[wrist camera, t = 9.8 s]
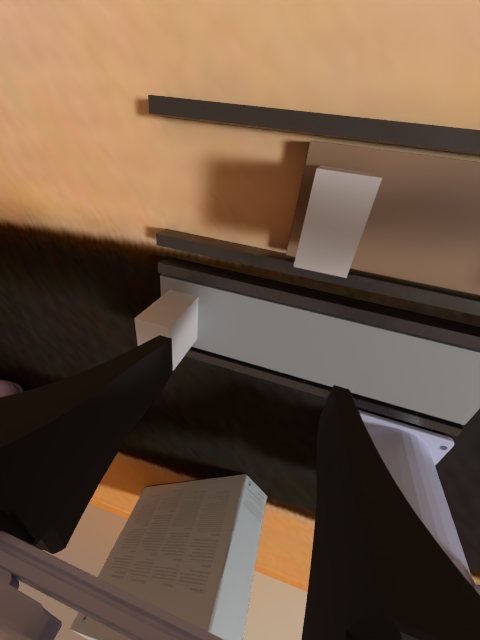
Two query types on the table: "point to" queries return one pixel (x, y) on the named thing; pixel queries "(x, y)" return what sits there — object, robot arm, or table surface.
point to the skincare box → (188, 554)
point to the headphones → (9, 388)
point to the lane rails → (313, 299)
